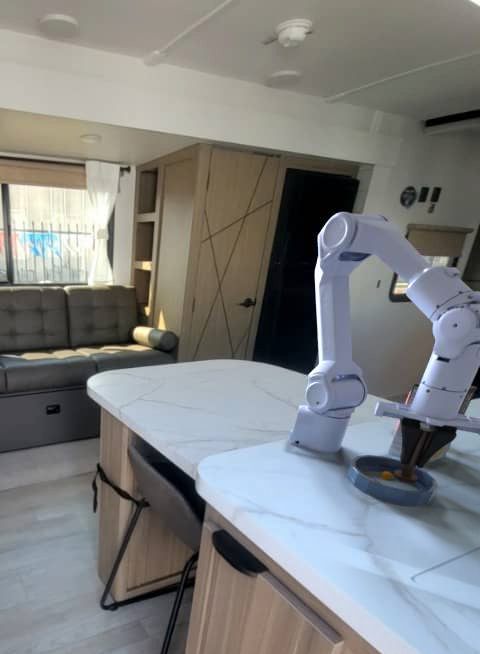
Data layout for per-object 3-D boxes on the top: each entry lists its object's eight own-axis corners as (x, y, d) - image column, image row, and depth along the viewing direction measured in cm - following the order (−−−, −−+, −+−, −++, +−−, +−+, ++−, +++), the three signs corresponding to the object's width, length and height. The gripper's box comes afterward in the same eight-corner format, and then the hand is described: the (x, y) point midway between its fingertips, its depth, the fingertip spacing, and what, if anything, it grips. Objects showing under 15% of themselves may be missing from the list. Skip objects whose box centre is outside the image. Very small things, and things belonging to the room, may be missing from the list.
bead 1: (366, 491, 70) (370, 481, 69) (365, 485, 71) (369, 476, 70) (379, 494, 69) (383, 485, 68) (379, 489, 70) (382, 479, 70)
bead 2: (378, 482, 72) (381, 473, 72) (377, 477, 74) (381, 468, 73) (391, 485, 72) (395, 476, 71) (390, 480, 73) (394, 471, 72)
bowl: (344, 498, 68) (352, 478, 67) (344, 467, 78) (351, 448, 76) (433, 522, 63) (443, 501, 61) (421, 485, 73) (430, 466, 71)
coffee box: (408, 449, 86) (439, 376, 79) (443, 462, 81) (478, 386, 74) (383, 457, 82) (413, 382, 75) (417, 472, 77) (453, 393, 70)
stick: (394, 480, 68) (414, 430, 64) (392, 471, 70) (412, 423, 66) (417, 485, 66) (439, 435, 62) (414, 476, 69) (436, 428, 65)
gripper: (389, 384, 61) (361, 462, 67) (515, 403, 55) (472, 488, 61) (385, 372, 67) (359, 445, 73) (500, 389, 60) (461, 467, 66)
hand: (410, 463), depth 67 cm, fingers closed on stick
